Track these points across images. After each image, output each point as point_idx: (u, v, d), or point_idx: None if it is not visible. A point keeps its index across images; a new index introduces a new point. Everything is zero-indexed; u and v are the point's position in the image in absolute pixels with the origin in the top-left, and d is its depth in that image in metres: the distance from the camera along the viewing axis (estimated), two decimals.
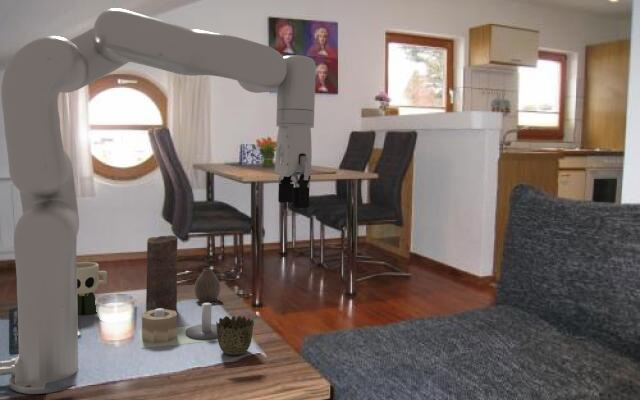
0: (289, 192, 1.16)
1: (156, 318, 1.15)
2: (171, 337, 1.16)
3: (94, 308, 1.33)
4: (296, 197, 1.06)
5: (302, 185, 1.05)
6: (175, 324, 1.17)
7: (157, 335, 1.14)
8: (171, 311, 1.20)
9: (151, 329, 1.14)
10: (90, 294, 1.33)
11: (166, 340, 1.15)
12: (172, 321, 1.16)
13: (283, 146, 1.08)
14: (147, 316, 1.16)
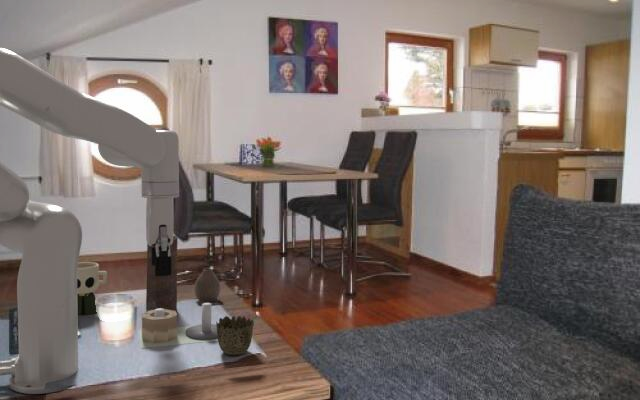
0: None
1: (156, 318, 1.15)
2: (171, 337, 1.16)
3: (94, 308, 1.33)
4: (158, 266, 1.12)
5: (162, 255, 1.11)
6: (175, 324, 1.17)
7: (157, 335, 1.14)
8: (171, 311, 1.20)
9: (151, 329, 1.14)
10: (90, 294, 1.33)
11: (166, 340, 1.15)
12: (172, 321, 1.16)
13: (147, 216, 1.13)
14: (147, 316, 1.16)
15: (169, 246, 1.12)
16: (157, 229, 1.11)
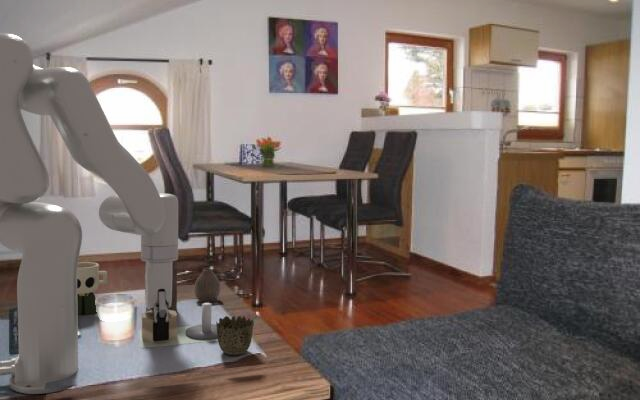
0: None
1: None
2: (171, 337, 1.16)
3: (94, 308, 1.33)
4: (156, 331, 1.14)
5: (160, 321, 1.13)
6: (175, 324, 1.17)
7: None
8: (171, 311, 1.20)
9: (151, 329, 1.14)
10: (90, 294, 1.33)
11: (166, 340, 1.15)
12: (172, 321, 1.16)
13: (146, 279, 1.14)
14: (147, 316, 1.16)
15: (167, 312, 1.14)
16: (156, 293, 1.12)
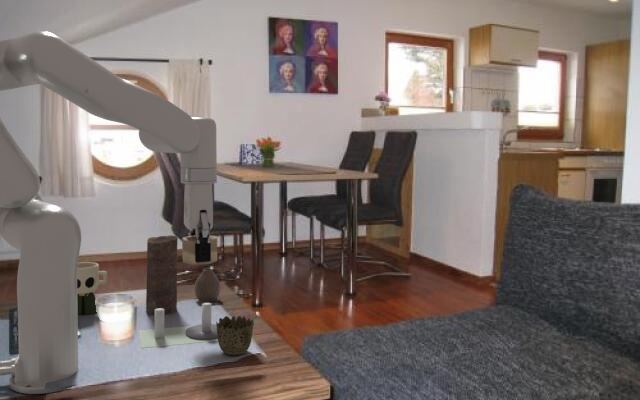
0: None
1: None
2: (212, 259, 1.18)
3: (94, 308, 1.33)
4: (198, 252, 1.15)
5: (202, 242, 1.14)
6: (215, 247, 1.19)
7: None
8: (210, 236, 1.21)
9: (193, 251, 1.16)
10: (90, 294, 1.33)
11: (208, 262, 1.17)
12: (213, 244, 1.18)
13: (186, 202, 1.16)
14: (188, 239, 1.17)
15: (209, 233, 1.15)
16: (198, 214, 1.13)
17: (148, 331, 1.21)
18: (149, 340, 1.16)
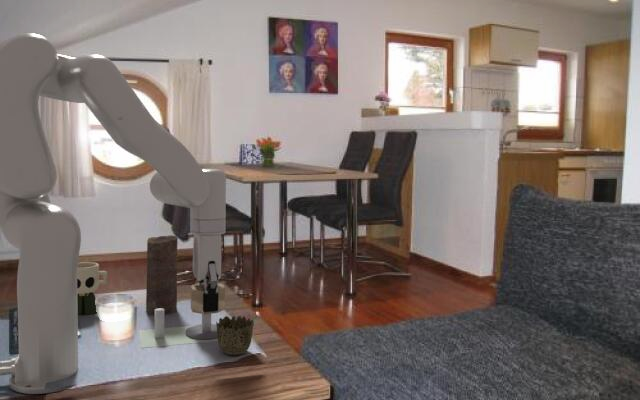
0: None
1: None
2: (220, 308, 1.19)
3: (94, 308, 1.33)
4: (206, 302, 1.17)
5: (210, 292, 1.16)
6: (223, 296, 1.20)
7: None
8: (218, 284, 1.23)
9: (201, 300, 1.17)
10: (90, 294, 1.33)
11: (215, 311, 1.18)
12: (221, 293, 1.19)
13: (195, 252, 1.17)
14: (196, 288, 1.19)
15: (217, 283, 1.17)
16: (206, 265, 1.15)
17: (148, 331, 1.21)
18: (149, 340, 1.16)
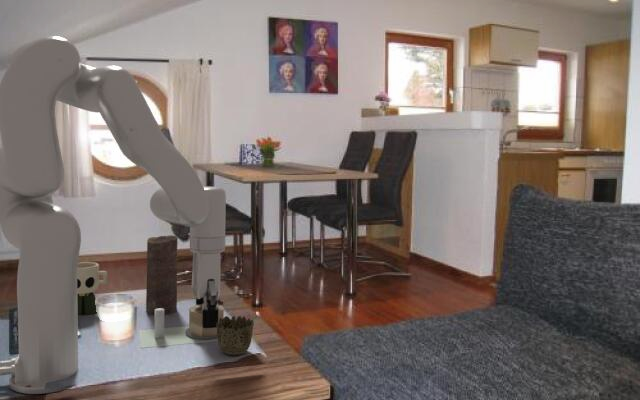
0: None
1: None
2: None
3: (94, 308, 1.33)
4: (205, 318, 1.16)
5: (210, 309, 1.15)
6: (222, 318, 1.21)
7: (205, 329, 1.18)
8: None
9: (200, 323, 1.18)
10: (90, 294, 1.33)
11: (214, 333, 1.19)
12: (219, 315, 1.20)
13: (195, 270, 1.18)
14: (195, 310, 1.19)
15: (216, 299, 1.16)
16: (206, 283, 1.15)
17: (148, 331, 1.21)
18: (149, 340, 1.16)
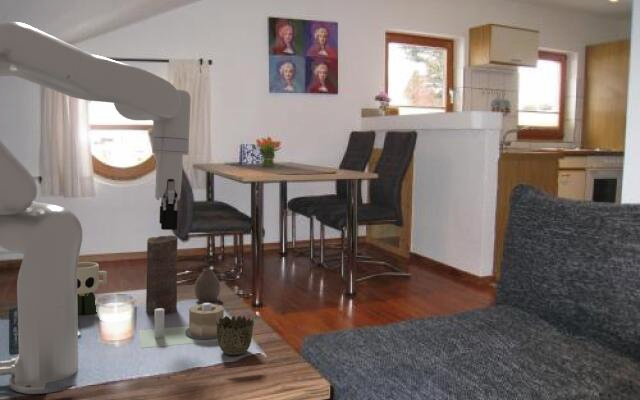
0: None
1: (204, 312, 1.18)
2: None
3: (94, 308, 1.33)
4: (164, 219, 1.14)
5: (169, 208, 1.13)
6: (222, 318, 1.21)
7: (205, 329, 1.18)
8: (217, 305, 1.23)
9: (200, 323, 1.18)
10: (90, 294, 1.33)
11: (214, 333, 1.19)
12: (219, 315, 1.20)
13: (156, 171, 1.16)
14: (195, 310, 1.19)
15: (176, 201, 1.14)
16: (165, 183, 1.14)
17: (148, 331, 1.21)
18: (149, 340, 1.16)
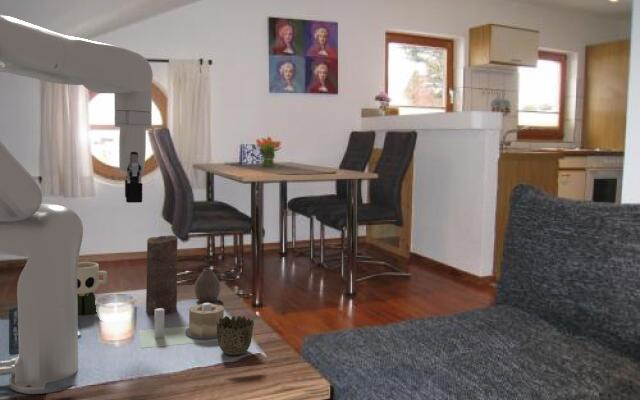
0: None
1: (204, 312, 1.18)
2: None
3: (94, 308, 1.33)
4: (129, 192, 1.15)
5: (133, 181, 1.14)
6: (222, 318, 1.21)
7: (205, 329, 1.18)
8: (217, 305, 1.23)
9: (200, 323, 1.18)
10: (90, 294, 1.33)
11: (214, 333, 1.19)
12: (219, 315, 1.20)
13: (119, 145, 1.16)
14: (195, 310, 1.19)
15: (140, 173, 1.15)
16: (128, 156, 1.14)
17: (148, 331, 1.21)
18: (149, 340, 1.16)
